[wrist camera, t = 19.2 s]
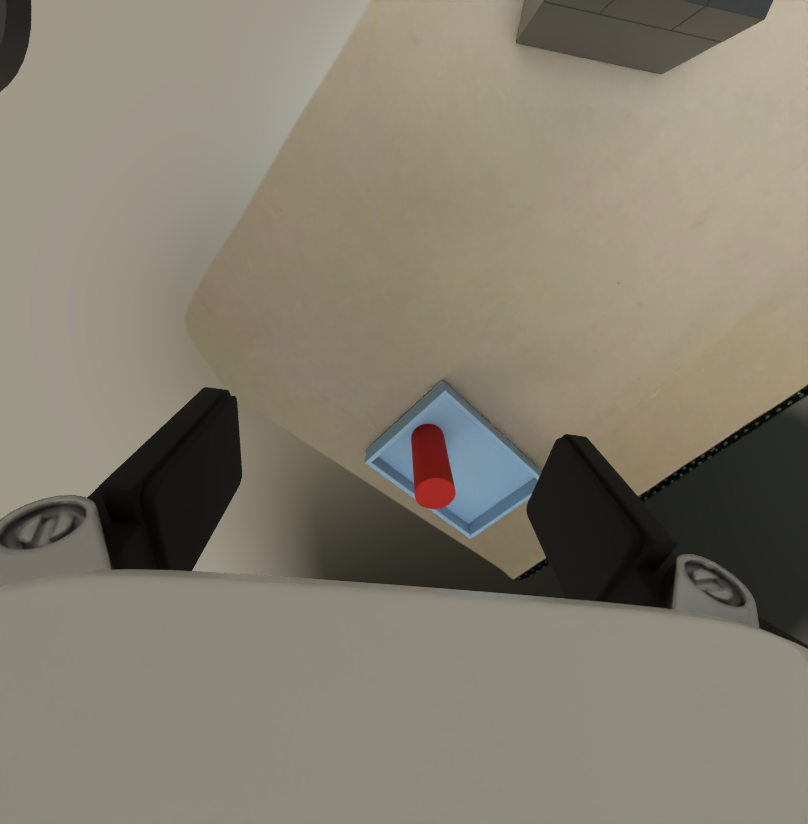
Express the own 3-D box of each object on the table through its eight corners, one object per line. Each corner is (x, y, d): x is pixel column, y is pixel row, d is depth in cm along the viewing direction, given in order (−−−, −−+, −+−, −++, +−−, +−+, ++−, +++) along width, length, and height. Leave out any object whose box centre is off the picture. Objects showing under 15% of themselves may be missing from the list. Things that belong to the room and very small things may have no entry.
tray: (366, 449, 45) (364, 462, 42) (442, 379, 40) (445, 389, 38) (466, 524, 51) (470, 539, 49) (541, 471, 47) (549, 485, 45)
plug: (408, 449, 44) (411, 507, 35) (413, 421, 42) (418, 475, 33) (440, 452, 44) (450, 511, 36) (446, 425, 42) (459, 480, 34)
